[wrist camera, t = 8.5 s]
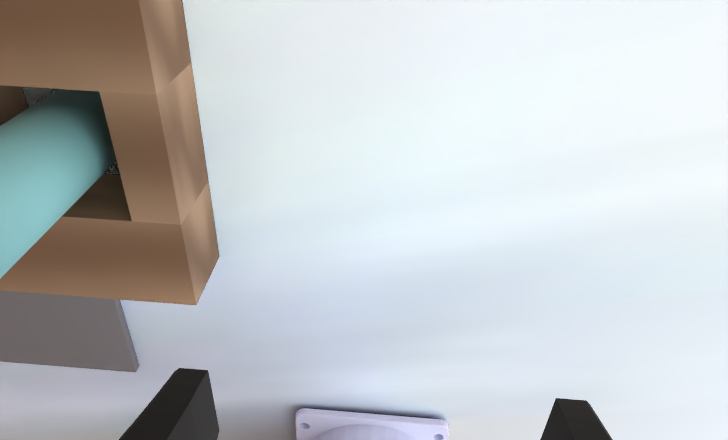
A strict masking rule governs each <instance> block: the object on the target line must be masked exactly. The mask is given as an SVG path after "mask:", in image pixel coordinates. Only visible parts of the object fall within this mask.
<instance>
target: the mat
mask: <svg viewBox="0 0 728 440" xmlns="http://www.w3.org/2000/svg"><path fill="white" fill-rule="evenodd" d="M0 361H3V362H15V363H28V364H40V365H53V366H65V367H77V368H90V369H102V370H115V371H127V372H136V371H137V369H138V367H139V364H138V361H137V357H136V354H135V351H134V347H133V344H132V340H131V337H130V334H129V330H128V327H127V324H126V320H125V317H124V313H123V310H122V307H121V303H120V300H119V299H108V298H95V297H82V296H69V295H56V294H42V293H29V292H16V291H3V290H0Z"/></svg>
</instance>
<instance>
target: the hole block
mask: <svg viewBox="0 0 728 440" xmlns="http://www.w3.org/2000/svg"><path fill="white" fill-rule="evenodd" d="M22 87H36V88H52V89H68V90H84V91H99V92H100V96H101V100H102V104H103V108H104V112H105V116H106V120H107V124H108V128H109V132H110V136H111V140H112V144H113V148H114V152H115V156H116V160H117V164H118V168H119V172H120V175H112V174H103V175H102V176H101V177H100V178H99V179H98V180H97V181H96V182H95V183H94V184H93V185H92V186H91V187H90V188H89V189H88V190H87V191H86V192H85V193H84V194H83V195H82V196H81V197H80V198H79V199H78V200H77V201H76V202H75V203H74V204H73V205H72V206H71V207H70V208H69V209H68V210H67V211H66V212H65V213H64V214H63V215H62V216H61V217H60V219H59V220H58V221H57V222H56V223H55V224H54V225H53V226H52V227H51V228H50V229H49V230H48V231H47V232H46V233H45V234H44V235H43V236H42V237H41V238H40V239H39V240H38V241H37V242H36V243H35V244H34V245H33V246H32V247H31V248H30V249H29V250H28V251H27V252H26V253H25V254H24V255H23V256H22V257H21V258H20V259H19V260H18V261H17V262H16V263H15V264H14V265H13V266H12V267H11V268H10V269H9V270H8V271H7V272H6V273H5V274H4V275H3V276H2V277H1V278H0V290H3V291H16V292H29V293H42V294H56V295H69V296H82V297H95V298H108V299H122V300H135V301H148V302H161V303H174V304H187V305H196V304H197V302H198V300H199V298H200V296H201V294H202V292H203V290H204V288H205V286H206V283H207V281H208V279H209V277H210V275H211V273H212V271H213V269H214V267H215V265H216V262H217V260H218V258H219V251H218V244H217V237H216V230H215V223H214V216H213V209H212V203H211V196H210V189H209V182H208V175H207V168H206V161H205V154H204V147H203V141H202V134H201V127H200V120H199V113H198V106H197V99H196V92H195V86H194V79H193V72H192V65H191V58H190V51H189V44H188V37H187V30H186V24H185V17H184V10H183V3H182V0H0V126H1V125H3V124H4V123H6V122H7V121H9V120H10V119H12V118H13V117H15V116H17V115H18V114H20V113H21V112H23V111H24V110H26V109H28V105H27V102H26V99H25V96H24V93H23V90H22Z"/></svg>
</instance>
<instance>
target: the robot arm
mask: <svg viewBox="0 0 728 440" xmlns="http://www.w3.org/2000/svg"><path fill="white" fill-rule="evenodd" d="M295 424H296V440H448V435H449V424H448V423H447V422H446V421H444V420H441V419H430V418H417V417H405V416H393V415H381V414H369V413H357V412H344V411H332V410H320V409H308V408H302V409H299V410H298V411H297V413H296V417H295ZM218 433H219V426H218V421H217V415H216V410H215V405H214V399H213V394H212V389H211V384H210V378H209V373H208V370H197V369H184V368H179V369H178V370H176V371H175V372H174V373H173V374H172V376H171V377H170V378H169V380H168V381H167V382H166V383H165V385H164V386H163V387H162V388H161V390H160V391H159V392H158V393H157V395H156V396H155V397H154V398H153V400H152V401H151V402H150V403H149V404H148V406H147V407H146V408H145V409H144V411H143V412H142V413H141V414H140V415H139V417H138V418H137V419H136V420H135V421H134V423H133V424H132V425H131V426H130V427H129V428H128V430H127V431H126V432H125V433H124V434H123V435H122V436H121V438H120V439H119V440H217V438H218ZM541 440H612V438H611V437H610V435H609V433H608V432H607V430H606V429H605V427H604V426H603V424H602V423H601V421H600V420H599V418H598V416H597V415H596V413H595V412H594V410H593V409H592V407H591V405H590V404H589V403H588V402H587V401H584V400H571V399H559V398H556V400H555V403H554V405H553V408H552V411H551V413H550V416H549V419H548V421H547V424H546V426H545V429H544V432H543V434H542V437H541Z"/></svg>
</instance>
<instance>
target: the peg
mask: <svg viewBox="0 0 728 440" xmlns="http://www.w3.org/2000/svg"><path fill="white" fill-rule="evenodd" d="M116 161H117V160H116V156H115V152H114V148H113V144H112V140H111V136H110V132H109V128H108V124H107V120H106V116H105V112H104V108H103V104H102V100H101V96H100V92H99V91H84V90H68V89H57V90H56V91H54V92H52V93H51V94H49V95H48V96H46V97H45V98H43V99H42V100H40V101H38V102H37V103H35V104H34V105H32V106H31V107H29V108H28V109H26V110H24V111H23V112H21V113H20V114H18V115H17V116H15V117H13V118H12V119H10V120H9V121H7V122H6V123H4V124H3V125H1V126H0V278H1V277H2V276H3V275H4V274H5V273H6V272H7V271H8V270H9V269H10V268H11V267H12V266H13V265H14V264H15V263H16V262H17V261H18V260H19V259H20V258H21V257H22V256H23V255H24V254H25V253H26V252H27V251H28V250H29V249H30V248H31V247H32V246H33V245H34V244H35V243H36V242H37V241H38V240H39V239H40V238H41V237H42V236H43V235H44V234H45V233H46V232H47V231H48V230H49V229H50V228H51V227H52V226H53V225H54V224H55V223H56V222H57V221H58V220H59V219H60V217H61V216H62V215H63V214H64V213H65V212H66V211H67V210H68V209H69V208H70V207H71V206H72V205H73V204H74V203H75V202H76V201H77V200H78V199H79V198H80V197H81V196H82V195H83V194H84V193H85V192H86V191H87V190H88V189H89V188H90V187H91V186H92V185H93V184H94V183H95V182H96V181H97V180H98V179H99V178H100V177H101V176H102V175H103V174H104V173H105V172H106V171H107V170H108V169H109V168H110V167H111V166H112V165H113V164H114V163H115V162H116Z"/></svg>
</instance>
